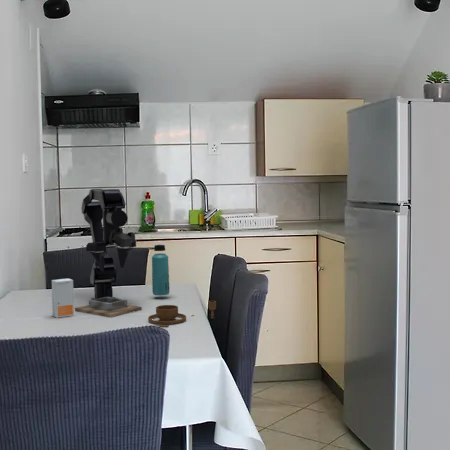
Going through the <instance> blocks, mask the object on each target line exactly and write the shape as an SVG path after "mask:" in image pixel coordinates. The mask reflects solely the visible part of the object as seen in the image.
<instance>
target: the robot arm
mask: <svg viewBox="0 0 450 450" xmlns="http://www.w3.org/2000/svg"><path fill="white" fill-rule="evenodd" d="M126 205H127V203H126V201H125V198H124V196H123V193H122V192H121V190H120V189H119V188H117V189H116V188H113V189H111V188H107V189H104V188H91V189H90V190H89V192H88V194H87V195H86V196H85V197H84V198H83V199H82V202H81V214H82V215H83V218H84V220H85V222H86V223H88V225H89V228H90V234H91V240H92V242H88V243H86V246H85V247H86V249H85V251H86V252H89V254H91V255H92V257H93V259H94V263H93V265H92V268H91V272H90V275H89V276H90V277H89V282H90V284H91V285H93V286H94V287H93V288H94V290H93V291H94V297H91V300H94V299H98V298H103V297H113V298H116V297H115V296H113V294H114V293H113V284H115V283H117V275H118V270H117V268H116V266H115V262H114V258H113V257H112V256H109V255H108V249H110V248H116V250H117V256H118V262H119V266H120V268H121V269H123V268H125V264H126V261H127V258H128V255H129V253H130V252H131V251H132V250H134V248H135V247H137V241H136V235H135V232H133V231H129V232H126V233H125V232H124V230H123V226H126V224H127V222H128V219H129V218H128V215H127V213H126V211H124V210H122V209H126Z"/></svg>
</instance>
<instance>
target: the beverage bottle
mask: <svg viewBox="0 0 450 450" xmlns="http://www.w3.org/2000/svg"><path fill="white" fill-rule="evenodd" d="M164 251H166V245H165V244H155V245H154V248H153V252H162V253H154V254H153V255H151V275H152V276H151V279H152V280H151V283H152V284H151V285H152V287H151V288H152V289H151V290H152V294H153V295H154V296H167V295H170V273H169V272H170V266H169V256H168V255H167V254H166V253H163V252H164Z"/></svg>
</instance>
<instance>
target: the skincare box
mask: <svg viewBox="0 0 450 450" xmlns="http://www.w3.org/2000/svg"><path fill="white" fill-rule="evenodd" d="M74 302H75V301H74V280H73V279H71V278H59V279H51V304H52V305H51V306H52V307H51V308H52V309H51V310H52V316H53V317H55V318H57V319H58V318H65V317H74V316H75V313H74V312H75V307H74V305H75V304H74Z"/></svg>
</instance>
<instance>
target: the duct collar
mask: <svg viewBox="0 0 450 450" xmlns="http://www.w3.org/2000/svg"><path fill="white" fill-rule="evenodd" d="M113 297H114V296H113ZM113 297H103V298H98V299H94V300H92V299H91V300H88V304H86V305H81V306H77V307H74V312H78V313H79V312H80V313H84V314H91V315H96V316H101V317H105V316H106V318H110V317H111V318H115V317H119V316H123V315H127V314H130V312H131V313H134V312H133V311H135V312H139V311H142V310H143V307H142V306H137V305H132V304H128V299H126V298H125V299H124V298H118V297H115V298H113ZM141 309H142V310H141ZM138 310H139V311H138Z"/></svg>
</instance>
